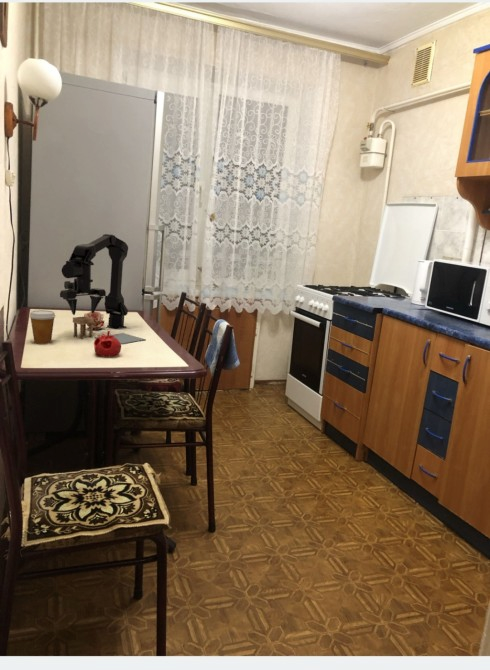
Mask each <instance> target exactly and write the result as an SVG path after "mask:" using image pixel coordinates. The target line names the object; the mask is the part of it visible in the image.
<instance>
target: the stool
mask: <svg viewBox="0 0 490 670" xmlns="http://www.w3.org/2000/svg"><path fill="white" fill-rule="evenodd" d="M72 323H73V337H76V338H77V337H78V325H80V326H79V327H80V329H79V332H80V333H79V335H80V337H79V339H80V338H81V340H82V339H84V336H86V335H87V334H86V333H87V324H89V327H88V337H89V338H93V329H92V324H93V323H94V319H93V318H89V317H85V316H84V315H83V316H77V317H76V316H75V317H72Z"/></svg>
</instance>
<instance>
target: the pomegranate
mask: <svg viewBox="0 0 490 670" xmlns="http://www.w3.org/2000/svg"><path fill="white" fill-rule="evenodd" d="M110 333H111V330H107V334H105V333H101V334H99V335H98V336H97V337H98V338H97V339H96V338H95V340H94V342H93V346H94V353H95V354H96V355H98V356H99V357H100V356H101V357H105V358H106V357H107V358H108V357H116V356H118V355H119V354H120V353H121V350H122V344H121V343H120V342H119V341H118V339H116V338H114V335H112V334H110ZM106 335H107V336H106ZM110 335H111V336H110ZM99 336H100V337H99Z"/></svg>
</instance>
